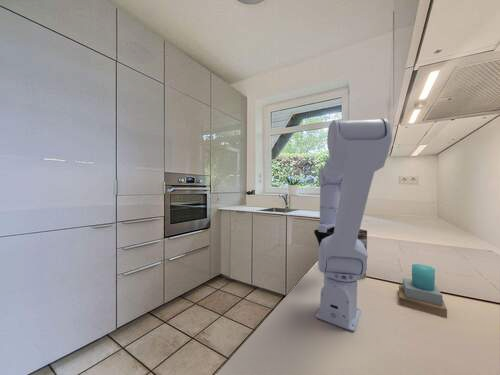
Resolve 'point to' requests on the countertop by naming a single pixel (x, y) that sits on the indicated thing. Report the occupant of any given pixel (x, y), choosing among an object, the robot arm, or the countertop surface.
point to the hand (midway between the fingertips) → (328, 252)
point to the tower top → (421, 293)
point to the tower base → (421, 304)
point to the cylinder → (423, 277)
